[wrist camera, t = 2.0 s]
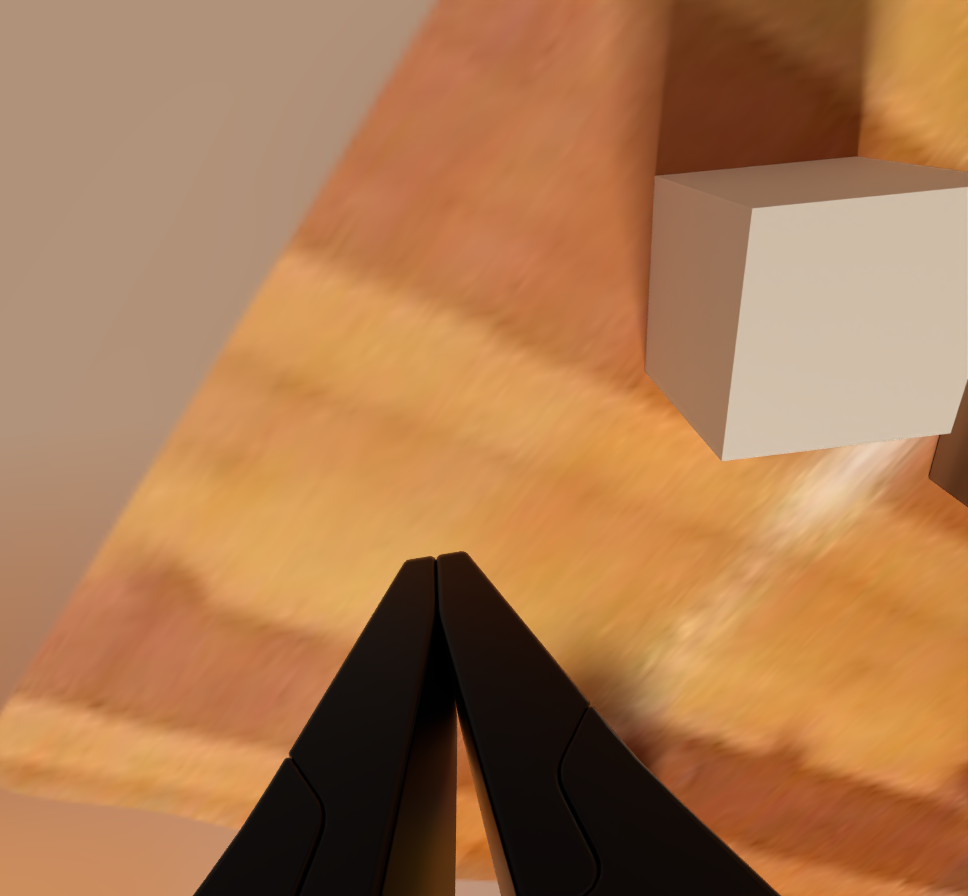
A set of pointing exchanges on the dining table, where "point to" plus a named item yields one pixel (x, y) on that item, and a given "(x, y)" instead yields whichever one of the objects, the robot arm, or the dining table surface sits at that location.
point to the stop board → (954, 456)
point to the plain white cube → (810, 303)
